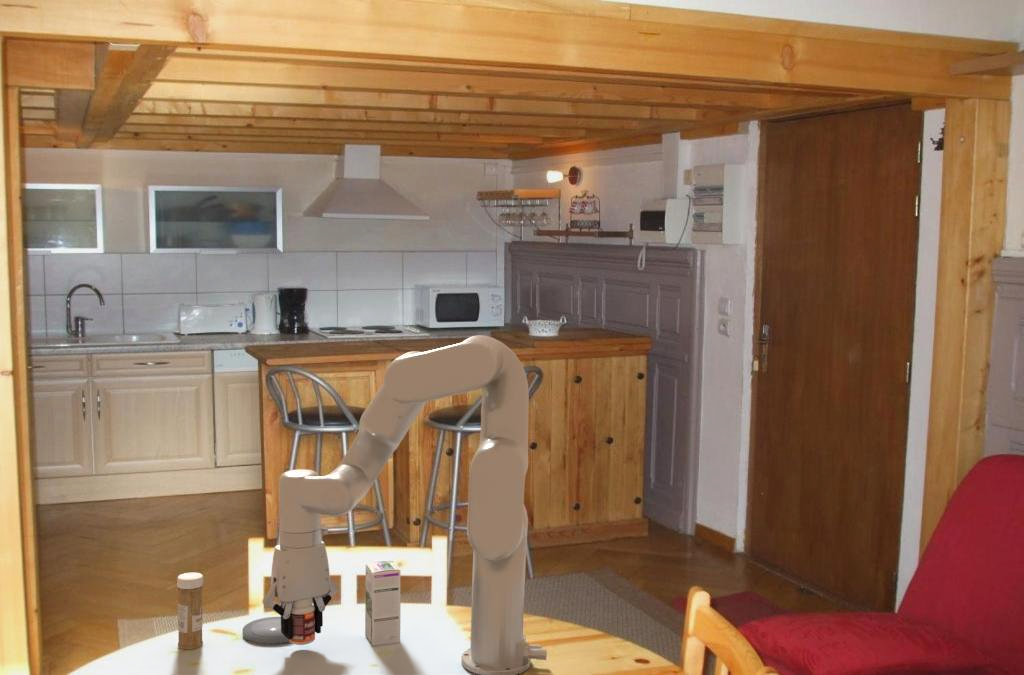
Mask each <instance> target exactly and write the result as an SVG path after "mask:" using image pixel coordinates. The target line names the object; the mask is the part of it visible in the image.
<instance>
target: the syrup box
mask: <svg viewBox="0 0 1024 675" xmlns="http://www.w3.org/2000/svg"><path fill="white" fill-rule="evenodd" d="M364 587H365V590H364V591H365V601H364V602H365V605H364V607H365V608H364V609H365V610H364V611H365V612H364V613H365V615H364V616H365V617H364V619H365V620H364V622H365V629H364V635H365V638H366V639H367V640H368V642H369V643H370V644H371V646H372V647H374V646H375V647H376V646H377V647H378V646H386V645H387V646H388V645H395V644H400V643H401V569H400V568H399V566H397V564H396V563H395V562H394V561H392V560H386V561H385V560H383V561H382V560H381V561H375V562H370V563H365V586H364Z"/></svg>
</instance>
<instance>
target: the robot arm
mask: <svg viewBox="0 0 1024 675" xmlns="http://www.w3.org/2000/svg"><path fill="white" fill-rule="evenodd" d="M477 390H481V409H480V433H479V434H480V436H479V444H478V448H477V450H476V452H475V453H474V454H473V457H472V460H471V463H470V468H469V474H468V475H469V476H468V477H469V478H468V495H467V496H468V497H467V499H468V500H467V522H466V526H467V527H466V532H467V533H466V534H467V535H466V536H467V539H468V543H469V544H470V546H471V548H472V550H473V555H472V556H473V557H472V578H471V579H472V582H471V612H470V613H471V615H470V616H471V618H470V647H469V648H468V649H467V650H465V651H464V652H463V653H462V655H461V665H462V667H464V668H465V669H466V670H467V671H469V672H471V673H473V674H476V675H519V674H521V673H524V672H525V671H527V670H528V669H529V668H530V667H531V663H532V661H531V660H532V659H533V660H537V661H546V660H547V659H548V658H547V657H548V649H546V648H542V644H530V643H529V642H527V635H524V615H525V614H524V612H525V611H524V610H525V587H526V586H525V583H526V582H525V581H526V564H527V563H526V562H527V561H526V560H527V559H526V558H527V547H528V546H527V543H528V542H527V541H528V526H529V519H528V518H529V517H528V511H527V508H526V506H525V502H524V501H525V486H526V485H525V483H526V481H525V480H526V476H527V472H528V469H529V424H530V422H529V420H530V419H529V410H530V409H529V408H530V407H529V406H530V405H529V404H530V399H529V398H530V395H529V394H530V393H529V382H528V377H527V374H526V371H525V368H524V366H523V364H522V362H521V360H520V358H519V357H518V356H517V355H516V353H515V352H514V351H513V350H512V349H511V348H510V347H508V346H507V345H506V344H505V343H503V342H502V341H500V340H498V339H496V338H494V337H492V336H490V335H489V336H488V335H483V334H482V335H481V334H478V335H473V336H470V337H469V336H468V338H466V339H464V340H462V342H459V343H456V344H452V345H447V346H444V347H440V348H436V349H432V350H427V351H419V350H414V351H413V350H412V351H407V352H405V353H404V354H402V355H400V356H398V357H396V358H395V359H393V360H392V361H391V362H390V364H389V365H388V366H387V368H386V369H385V372H384V375H383V382H382V383H381V386H379V389H378V390H377V392H376V393H375V394H374V397H373V398H372V399H371V401H370V402H369V403H368V405H367V407H366V409H365V410H364V411H363V413H362V414H361V416H360V419H359V429H358V432H357V433H356V434H357V435H355V438H354V440H353V442H352V444H351V445H350V447H349V448H348V450H347V452H346V453H345V455H344V456H343V458H341V460H340V462H339V464H338V465H337V467H336V468H334V469H333V470H332V471H331V472H330V473H329V474H326V475H323V476H320V474H319V473H318V472H317V471H315V470H312V469H304V468H301V469H298V468H297V469H291V470H286V471H285V472H282V473H281V474H280V476H279V478H278V512H279V513H278V519H279V520H278V521H279V525H278V526H279V528H278V530H279V544H277V545H275V547H274V550H273V555H272V564H271V574H270V575H271V576H270V589H268V591H267V593H266V594H265V596H264V597H263V599H262V601H261V602H262V604H263V605H264V606H266V607H267V608H269V609H271V610H273V611H274V612H276V613H277V614H278V615H280V617H281V632H282V634H284V636H285V637H286V638H288V639H289V640H290V639H292V638H293V619H292V618H291V617H290V612H291V608H292V604H293V602H295V601H299V600H304V599H309V598H313V604H312V605H313V606H314V608H315V634H321V633H322V627H323V623H324V622H323V621H324V620H323V617H324V616H323V615H324V614H323V612H324V611H325V609H326V607H327V605H329V603H330V602H331V600H332V598H334V597H335V596H336V594H337V593H338V592H339V591H340V588H339V586H338V585H337V584H336V582H334V580H332V578H331V577H330V564H329V558H328V557H329V556H328V553H327V548H326V547H327V546H326V544H325V542H324V541H323V537H324V536H327V535H328V534H329V529H328V527H326V526H325V527H323V526H322V515H324V516H329V517H342V516H344V515H347V514H348V513H349V512H351V511H352V510H353V509H354V508H355V507H356V506H357V505H358V504H359V503H360V502H361V501H362V500H363V499H364V498H365V496H366V495H367V494H368V493H369V491H370V489H371V488H372V486H373V484H374V483H375V482H376V480H377V478H378V477H379V475H380V474H381V473H382V471H383V470H384V468H385V466H386V465H387V463H388V461H390V458H391V456H392V455H393V453H394V452H395V451H396V450H397V449H398V448H399V446H400V444H401V442H402V441H403V440H404V437H405V436H406V435H407V433H408V431H410V428H411V427H412V425H413V423H414V421H416V419H417V417H418V416H419V414H420V413H421V411H422V410H423V409H424V408H425V405H426V404H427V403H428V402H431V401H436V400H440V399H444V398H448V397H453V396H456V395H461V394H465V393H470V392H474V391H477ZM275 598H278V601H279V604H278V603H277V602H276V601H275Z"/></svg>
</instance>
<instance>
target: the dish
mask: <svg viewBox="0 0 1024 675" xmlns="http://www.w3.org/2000/svg"><path fill="white" fill-rule="evenodd" d="M242 638H243V639H244V640H245V641H247V642H249V643H251V644H255V645H260V646H280V645H287V644H291V643H290V641H289V639H288V638H286V637H285V636H284V634H282V632H281V616H271V617H270V616H269V617H262V618H259V619H255V620H252V621H250V622H248V623H246V624H245V625H244V626H243V627H242Z"/></svg>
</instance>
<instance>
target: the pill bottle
mask: <svg viewBox="0 0 1024 675" xmlns="http://www.w3.org/2000/svg"><path fill="white" fill-rule="evenodd" d="M290 617H291V618H292V619H293V638H292V639H290V640H289V641H290V643H289V644H293V645H299V646H304V645H308V644H309V645H310V644H311V643H313V642H315V640H316V632H315V608H314V606H313V598H309V599H304V600H299V601H295V602H293V604H292V608H291V612H290Z"/></svg>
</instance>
